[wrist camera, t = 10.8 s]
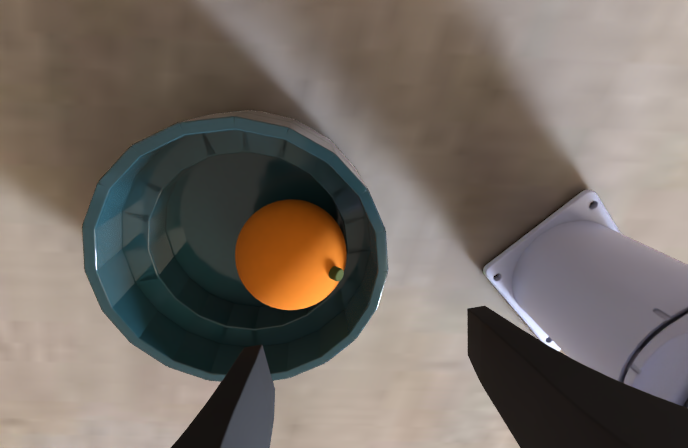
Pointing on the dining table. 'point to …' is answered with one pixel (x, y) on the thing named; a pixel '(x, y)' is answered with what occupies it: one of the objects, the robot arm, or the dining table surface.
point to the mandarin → (290, 254)
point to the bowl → (226, 243)
